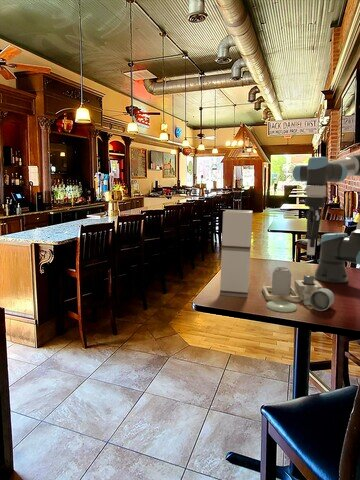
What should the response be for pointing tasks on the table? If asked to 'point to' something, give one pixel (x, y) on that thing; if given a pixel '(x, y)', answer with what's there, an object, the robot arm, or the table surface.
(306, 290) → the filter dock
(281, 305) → the pad
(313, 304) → the ceramic mug
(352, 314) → the table surface
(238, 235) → the tall seamed white tower
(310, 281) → the glossy grey oval piece
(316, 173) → the robot arm
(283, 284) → the can
